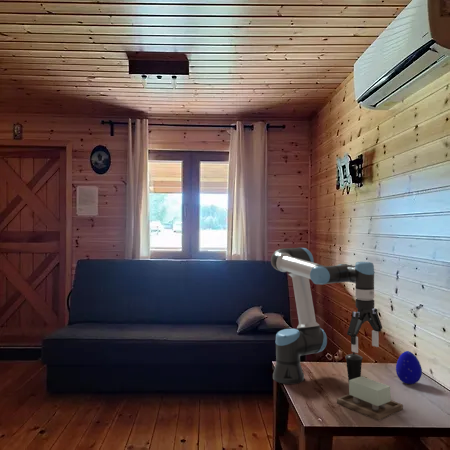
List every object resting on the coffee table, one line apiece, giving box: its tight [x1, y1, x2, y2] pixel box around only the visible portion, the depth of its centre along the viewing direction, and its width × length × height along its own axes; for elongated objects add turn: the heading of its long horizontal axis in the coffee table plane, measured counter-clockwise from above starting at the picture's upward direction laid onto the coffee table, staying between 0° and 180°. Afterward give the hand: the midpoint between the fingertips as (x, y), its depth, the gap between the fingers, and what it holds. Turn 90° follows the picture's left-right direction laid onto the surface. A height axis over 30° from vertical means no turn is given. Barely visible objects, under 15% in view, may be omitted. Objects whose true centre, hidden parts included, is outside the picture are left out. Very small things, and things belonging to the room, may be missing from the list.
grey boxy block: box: [348, 375, 391, 406], centre depth 168 cm, size 14×8×6 cm, turn 33°
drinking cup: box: [345, 352, 363, 382], centre depth 189 cm, size 8×8×20 cm
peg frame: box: [336, 393, 404, 422], centre depth 168 cm, size 20×16×4 cm
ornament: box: [395, 350, 423, 385], centre depth 192 cm, size 11×9×15 cm
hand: (365, 349), depth 172 cm, fingers open, 13 cm apart
